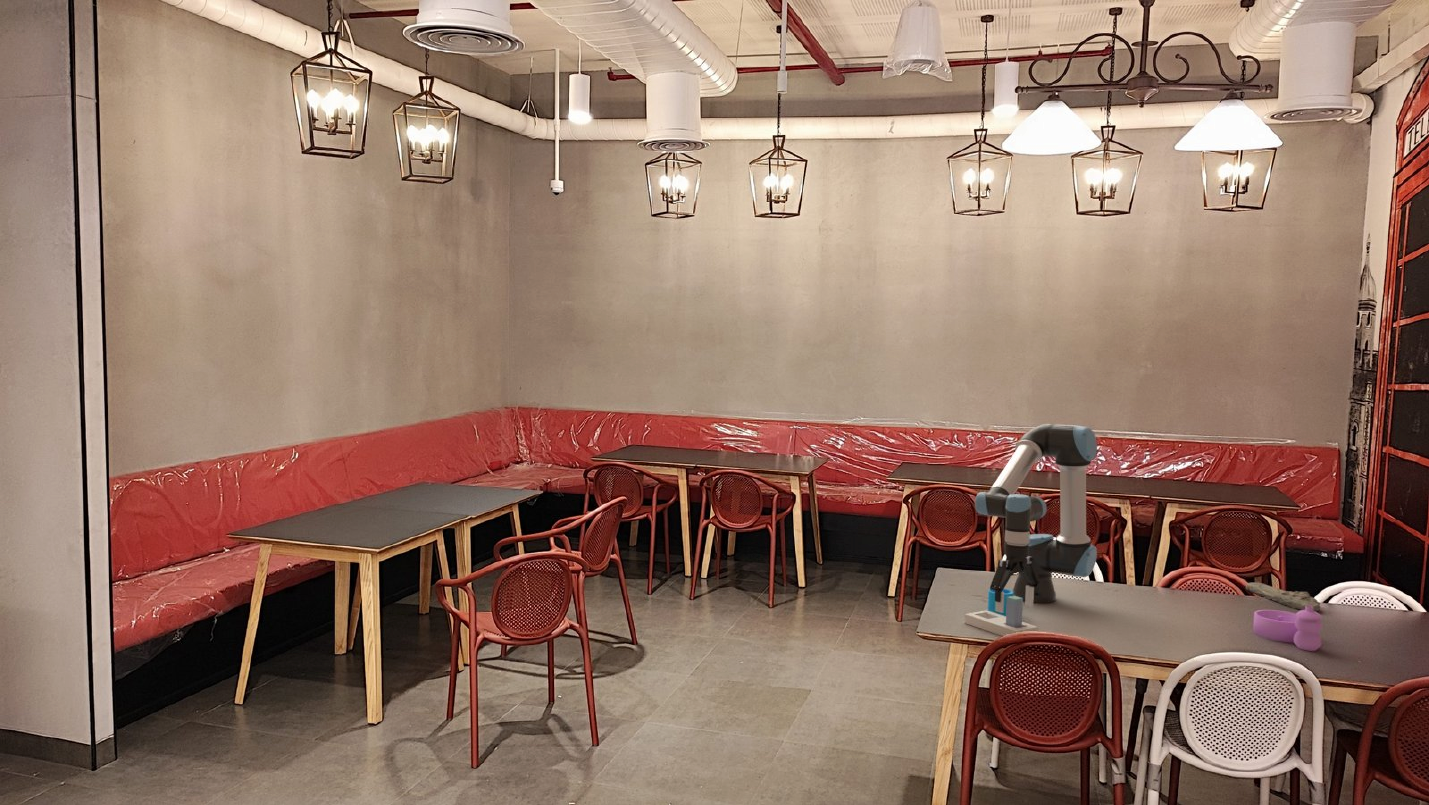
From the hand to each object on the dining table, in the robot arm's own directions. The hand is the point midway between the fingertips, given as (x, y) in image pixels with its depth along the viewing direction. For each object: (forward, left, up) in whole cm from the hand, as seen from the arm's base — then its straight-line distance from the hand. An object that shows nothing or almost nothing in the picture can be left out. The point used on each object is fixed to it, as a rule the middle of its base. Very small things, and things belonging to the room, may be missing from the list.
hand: (1014, 609), depth 326 cm
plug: (0, 0, -8) cm, 8 cm away
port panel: (0, -6, -8) cm, 10 cm away
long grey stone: (-122, +17, -9) cm, 124 cm away
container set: (-74, +47, -8) cm, 88 cm away
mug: (-15, -20, -8) cm, 26 cm away
